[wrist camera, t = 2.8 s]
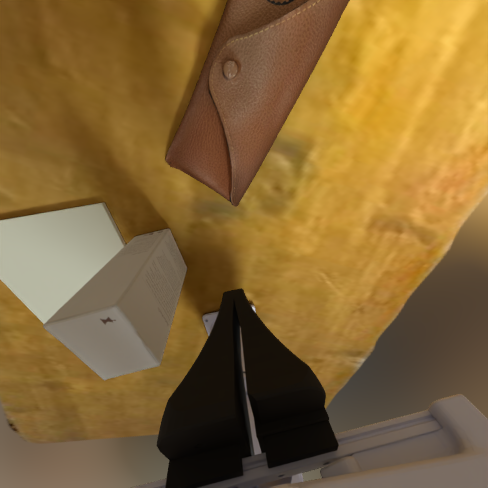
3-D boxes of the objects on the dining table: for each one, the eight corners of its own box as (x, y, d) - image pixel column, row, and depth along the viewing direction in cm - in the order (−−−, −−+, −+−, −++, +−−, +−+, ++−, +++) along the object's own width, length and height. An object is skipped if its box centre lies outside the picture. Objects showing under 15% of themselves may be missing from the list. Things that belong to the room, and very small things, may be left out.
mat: (155, 301, 24) (154, 304, 24) (50, 323, 23) (46, 326, 23) (104, 202, 18) (101, 203, 17) (-42, 227, 17) (-49, 229, 17)
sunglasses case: (250, -99, 11) (343, -196, 7) (298, 16, 16) (368, -5, 12) (160, 166, 17) (184, 193, 13) (217, 190, 22) (246, 214, 18)
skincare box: (133, 235, 20) (35, 324, 9) (170, 226, 20) (116, 304, 9) (156, 277, 23) (101, 383, 12) (188, 269, 23) (163, 366, 12)
